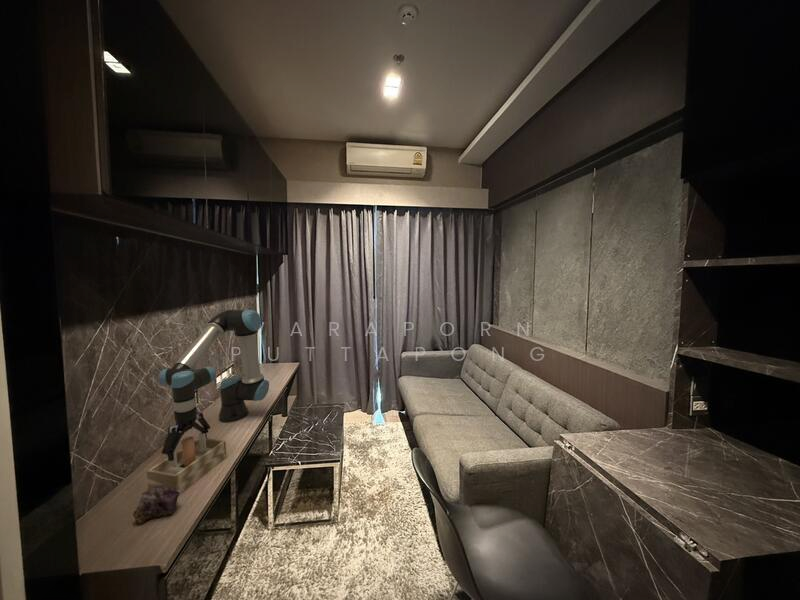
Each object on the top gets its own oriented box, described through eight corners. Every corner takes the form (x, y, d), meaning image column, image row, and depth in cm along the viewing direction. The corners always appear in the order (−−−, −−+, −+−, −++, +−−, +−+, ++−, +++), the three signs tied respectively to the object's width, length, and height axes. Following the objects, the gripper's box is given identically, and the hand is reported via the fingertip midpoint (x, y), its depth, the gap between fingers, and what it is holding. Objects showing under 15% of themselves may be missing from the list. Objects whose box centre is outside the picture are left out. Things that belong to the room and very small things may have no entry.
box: (201, 453, 139) (200, 437, 139) (226, 457, 136) (225, 440, 136) (148, 490, 116) (146, 471, 115) (177, 495, 113) (175, 476, 112)
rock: (170, 522, 102) (182, 500, 112) (172, 500, 102) (184, 479, 111) (129, 526, 99) (145, 503, 109) (131, 502, 98) (147, 481, 108)
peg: (191, 468, 129) (188, 436, 127) (199, 469, 128) (196, 437, 126) (182, 475, 125) (179, 441, 123) (190, 476, 124) (187, 442, 122)
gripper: (203, 395, 136) (207, 439, 138) (146, 422, 112) (152, 474, 114) (217, 397, 135) (220, 441, 137) (162, 424, 110) (167, 477, 113)
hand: (189, 456), depth 126 cm, fingers open, 13 cm apart
